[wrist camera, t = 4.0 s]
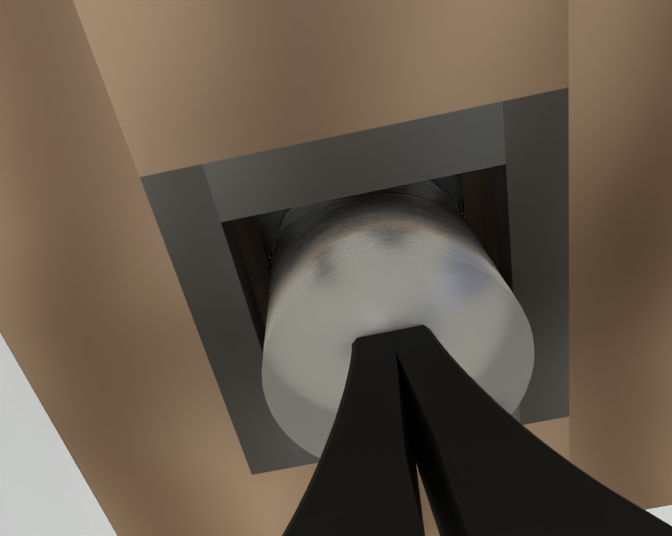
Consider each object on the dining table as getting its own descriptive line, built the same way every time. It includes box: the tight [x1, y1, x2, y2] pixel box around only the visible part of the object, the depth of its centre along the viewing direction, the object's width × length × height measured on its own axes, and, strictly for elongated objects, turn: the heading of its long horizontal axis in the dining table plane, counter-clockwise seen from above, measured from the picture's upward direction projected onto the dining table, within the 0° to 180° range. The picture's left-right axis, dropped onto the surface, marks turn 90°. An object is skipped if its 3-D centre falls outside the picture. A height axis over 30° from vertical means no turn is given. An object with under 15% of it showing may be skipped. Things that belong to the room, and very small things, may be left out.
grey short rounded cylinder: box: [262, 180, 534, 470], centre depth 13 cm, size 5×5×4 cm
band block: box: [0, 0, 672, 536], centre depth 15 cm, size 16×16×5 cm
